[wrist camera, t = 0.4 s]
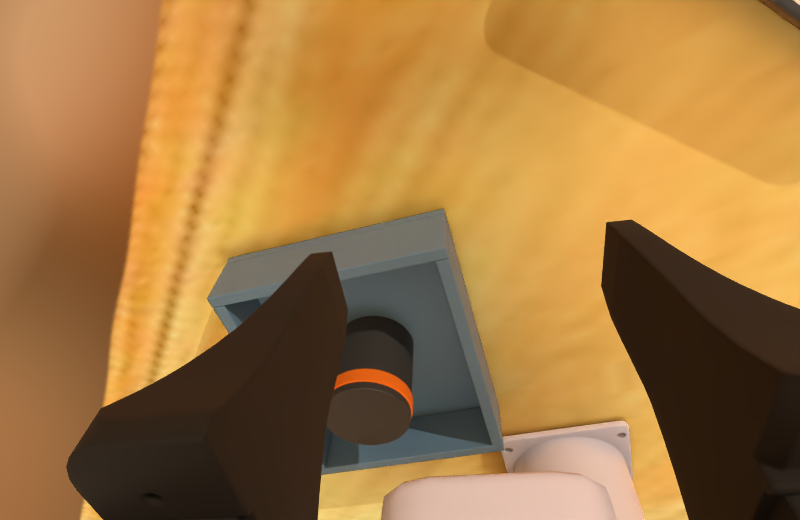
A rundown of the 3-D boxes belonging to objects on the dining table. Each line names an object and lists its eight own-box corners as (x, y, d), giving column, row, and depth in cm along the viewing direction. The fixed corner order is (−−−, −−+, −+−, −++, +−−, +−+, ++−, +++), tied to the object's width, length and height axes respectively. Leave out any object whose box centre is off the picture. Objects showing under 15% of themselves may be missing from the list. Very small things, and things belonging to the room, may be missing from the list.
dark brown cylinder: (423, 364, 29) (422, 440, 25) (351, 376, 30) (339, 451, 26) (402, 307, 27) (397, 380, 23) (324, 322, 28) (306, 395, 24)
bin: (498, 403, 32) (504, 451, 29) (328, 429, 34) (319, 475, 31) (443, 208, 24) (445, 247, 21) (229, 257, 26) (206, 298, 23)
